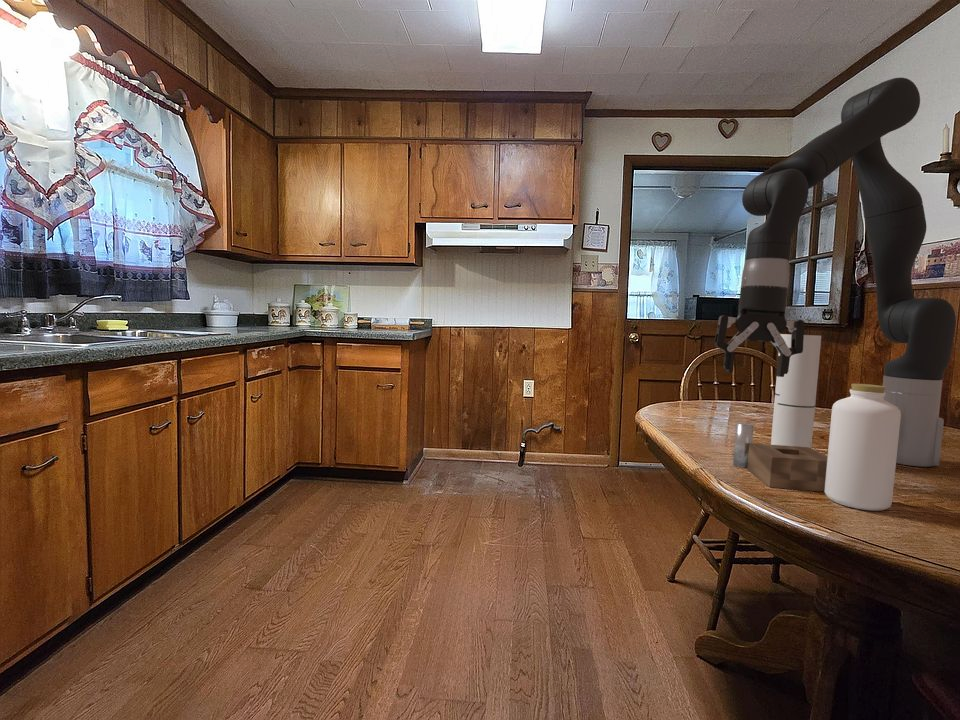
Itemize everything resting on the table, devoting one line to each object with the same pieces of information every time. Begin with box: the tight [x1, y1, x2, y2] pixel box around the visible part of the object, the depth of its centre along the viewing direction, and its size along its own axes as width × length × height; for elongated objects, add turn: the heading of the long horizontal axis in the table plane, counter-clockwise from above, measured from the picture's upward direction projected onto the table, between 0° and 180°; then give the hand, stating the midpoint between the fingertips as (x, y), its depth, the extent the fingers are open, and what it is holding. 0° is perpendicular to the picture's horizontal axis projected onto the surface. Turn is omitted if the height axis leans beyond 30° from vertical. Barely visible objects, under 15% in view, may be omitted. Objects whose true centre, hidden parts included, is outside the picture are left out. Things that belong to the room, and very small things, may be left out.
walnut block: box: [747, 442, 828, 492], centre depth 89 cm, size 10×10×5 cm
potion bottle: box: [824, 383, 901, 512], centre depth 78 cm, size 8×8×18 cm
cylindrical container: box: [770, 333, 822, 449], centre depth 106 cm, size 7×7×25 cm
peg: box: [732, 421, 755, 469], centre depth 98 cm, size 3×3×8 cm
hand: (754, 374), depth 95 cm, fingers open, 8 cm apart
